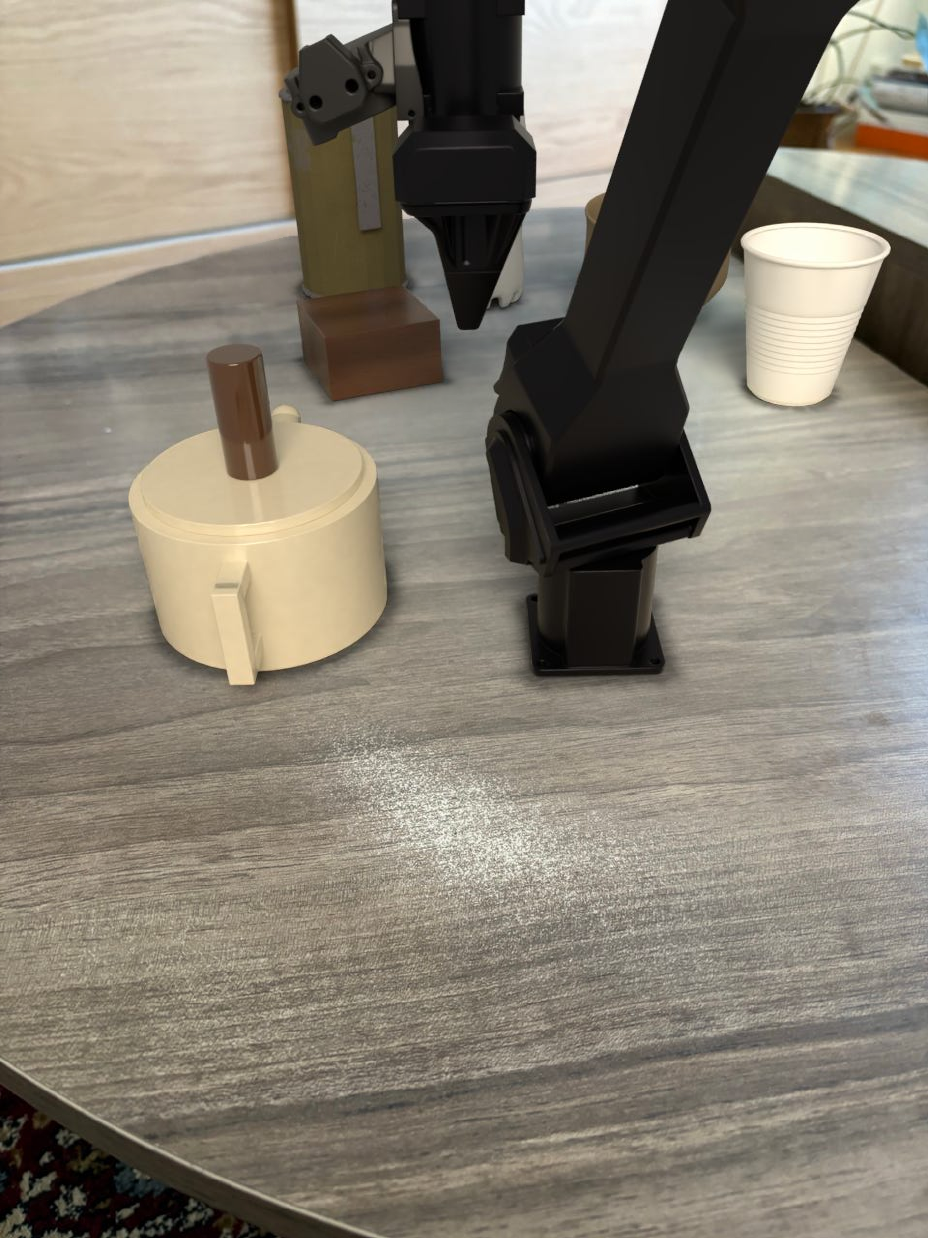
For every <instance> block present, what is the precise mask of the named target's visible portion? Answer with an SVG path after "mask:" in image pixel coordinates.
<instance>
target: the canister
mask: <svg viewBox="0 0 928 1238" xmlns="http://www.w3.org/2000/svg"><path fill="white" fill-rule="evenodd" d="M278 98H279V99H280V100H281V101H280V102H281V108H282V117H283V126H284V134H285V140H286V149H287V159H288V167H289V174H290V180H291V181H290V182H291V191H292V199H293V207H294V215H295V224H296V229H297V238H298V244H299V248H298V249H299V255H300V263H301V270H302V271H301V272H302V279H303V281H302V284H301V290H302V292H303V293H304V295H305V296H307V297H308V298H309V299H310V298H317V297H324V296H331V295H338V294H344V293H351V292H358V291H365V290H372V289H378V288H385V287H392V286H399V285H403V286H404V287H405V288H408V286H409V278H408V276H407V275H406V274H407V272H406V256H405V241H404V240H405V237H404V220H403V219H404V218H403V209H402V208H401V206H400V204H399V202H398V201H395V193H394V177H393V160H392V155H393V151H394V147H395V143H396V140H397V138H398V137H399V125H398V121H397V107H396V105H395V106H394V107H392V108H390V109H389V110H387V111H385V112H382V113H380V114H378V115H376V116H373V117H371V118H369V119H367V120H364V121H362V122H360V123H358V124H355V125H353V126H351V127H349V128H346V129H344V130H342V131H340V132H339V133H338V135H337V137H336V138H335V139H333V140H330V141H328V142H326V143H323V144H320V145H317V146H313V145H312V143H311V141H310V139H309V137H308V134H307V132H306V130H305V128H304V125H303V123H302V121H301V118H298V117H296V116H295V115H294V114H293V113H292V111H291V107H290V106H291V101H292V98H291V96H290V94H289V91H288V89H287V87H286V86H283V87H282V88H280V89H279V91H278Z"/></svg>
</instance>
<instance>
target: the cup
mask: <svg viewBox="0 0 928 1238" xmlns="http://www.w3.org/2000/svg"><path fill="white" fill-rule="evenodd" d="M740 246H741V248H742V249H743V263H744V264H743V265H744V268H743V271H744V296H745V299H744V301H745V302H744V303H745V305H744V306H745V307H744V309H745V341H746V342H745V346H746V351H745V352H746V386H747V388H748V389H749V390H750V391H751V393H752V394H753V395H754V396H755V397H756V398H758V399H761V401H764V402H767V403H770V404H774V405H778V406H784V407H805V406H806V407H807V406H812V405H816V404H817V403H820V402H821V401H824V400H825V399H826V398H828V397H829V396H831V394H832V392H833V390H834V387H835V384H836V381H837V379H838V377H839V374H840V371H841V368H842V365H843V363H844V360H845V357H846V356H847V353H848V351H849V347H850V345H851V342H852V339H853V338H854V335H855V332H856V330H857V326H858V325H859V321H860V319H861V318H862V313H863V312H864V310H865V306H866V305H867V303H868V300H869V297H870V295H871V293H872V290H873V288H874V285H875V282H876V280H877V277H878V274H879V272H880V270H881V267H882V264H883V262H884V260H885V258H887V257H888V256H889V255H890V253H891V249H892V248H891V246H890V243H889V241H887V240H886V239H885V238H883V237H882V236H880V235H878V234H876V233H874V232H870V231H867V230H864V229H861V228H856V227H852V226H846V225H842V224H834V223H833V224H832V223H821V222H784V223H773V224H768V225H763V226H760V227H756V228H753V229H751V230H749V231H747V232H745V233H743V235H742V236H741V238H740Z"/></svg>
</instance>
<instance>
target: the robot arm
mask: <svg viewBox="0 0 928 1238" xmlns="http://www.w3.org/2000/svg"><path fill="white" fill-rule="evenodd" d="M860 1H861V0H667V1H666V4H665V7H664V10H663V13H662V17H661V20H660V23H659V26H658V28H657V32H656V34H655V35H656V36H655V38H654V42H653V44H652V47H651V50H650V53H649V57H648V60H647V63H646V67H645V70H644V72H643V75H642V78H641V81H640V84H639V87H638V90H637V94H636V97H635V100H634V102H633V103H634V104H633V105H632V108H631V112H630V116H629V119H628V121H627V125H626V127H625V131H624V134H623V137H622V140H621V143H620V146H619V149H618V152H617V156H616V159H615V161H614V165H613V168H612V170H611V174H610V177H609V180H608V184H607V187H606V190H605V192H606V193H605V192H604V193H605V196H604V199H603V202H602V205H601V208H600V211H599V214H598V217H597V220H596V224H595V227H594V230H593V233H592V236H591V239H590V242H589V245H588V248H587V251H586V254H585V258H584V257H583V260H582V265H581V267H580V270H579V273H578V276H577V279H576V282H575V285H574V288H573V292H572V295H571V298H570V301H569V304H568V308H567V311H566V314H565V316H560V317H555V318H550V319H543V320H538V321H533V322H528V323H522V324H518V325H516V326H515V328H514V330H513V331H512V333H511V334H510V336H509V338H508V339H507V342H506V346H505V354H504V359H503V361H504V362H503V365H502V370H501V372H500V375H499V377H498V379H497V380H496V382H494V383H493V386H492V389H493V392H494V393H495V394H497V399H496V401H495V405H494V408H493V412H492V416H491V417H490V419H489V421H488V423H487V428H486V436H485V438H484V445H485V457H486V462H487V466H488V473H489V478H490V482H491V483H490V485H491V490H492V497H493V504H494V511H495V517H496V521H497V523H498V526H499V527H498V528H499V532H500V533H501V535H502V536H503V537H504V556H505V558H506V559H507V560H508V562H510V563H514V564H519V565H524V566H526V567H528V566H530V567H531V568H532V569H533V570H534V571H535V573H537V593H531V594H528V595H527V596H526V599H525V607H526V619H527V629H528V631H527V632H528V641H529V651H530V663H531V671H532V673H533V674H534V676H538V677H581V676H582V677H585V676H586V677H587V676H590V677H591V676H633V675H635V676H636V675H660V674H662V673H663V672H664V671H665V667H666V659H665V655H664V652H663V648H662V643H661V640H660V637H659V632H658V628H657V624H656V621H655V617H654V613H653V599H654V592H655V591H654V590H655V581H656V571H657V562H658V554H659V546H660V545H664V544H665V545H666V544H669V543H673V542H676V541H680V540H684V539H688V540H689V539H693V538H698V537H700V536H701V535H702V533H703V530H704V528H705V526H706V523H707V522H708V520H709V517H710V516H711V513H712V504H711V500H710V497H709V495H708V492H707V489H706V486H705V484H704V481H703V478H702V475H701V473H700V470H699V466H698V464H697V461H696V458H695V456H694V453H693V450H692V447H691V444H690V442H689V439H688V438H689V437H688V436H687V434H686V433H687V432H686V430H685V425H686V423H687V420H688V416H689V414H690V410H691V407H690V403H689V399H688V396H687V393H686V391H685V390H686V389H685V386H684V384H683V381H682V378H681V375H680V372H679V371H680V370H679V368H678V362H679V358H680V356H681V353H682V352H683V349H684V347H685V345H686V343H687V341H688V338H689V337H690V334H691V332H692V331H693V328H694V326H695V325H696V321H697V320H698V317H699V315H700V313H701V311H702V309H703V307H704V306H705V305H704V303H705V301H706V299H707V297H708V294H709V292H710V290H711V288H712V286H713V284H714V282H715V280H716V278H717V276H718V274H719V271H720V269H721V267H722V265H723V263H724V261H725V259H726V257H727V255H728V253H729V250H730V248H731V246H732V247H733V244H734V242H735V240H736V238H737V236H738V234H739V232H740V229H741V228H742V226H743V223H744V221H745V219H746V217H747V215H748V213H749V210H750V209H751V207H752V204H753V202H754V200H755V198H756V196H757V194H758V192H759V190H760V188H761V187H762V184H763V182H764V179H765V178H766V176H767V173H768V170H769V169H770V167H771V165H772V162H773V160H774V158H775V156H776V154H777V152H778V149H779V148H780V146H781V143H782V141H783V140H784V138H785V135H786V133H787V131H788V129H789V127H790V125H791V123H792V121H793V118H794V116H795V114H796V113H797V110H798V108H799V106H800V104H801V101H802V100H803V97H804V96H805V94H806V92H807V89H808V87H809V86H810V84H811V81H812V79H813V77H814V74H815V72H816V70H817V68H818V66H819V64H820V62H821V60H822V58H823V56H824V54H825V52H826V50H827V48H828V45H829V43H830V41H831V40H832V37H833V35H834V33H835V31H836V30H837V28H838V26H839V25H840V23H841V22H842V20H843V19H844V17H845V16H846V15H847V14H848V13H849V12H850V11H851V9H853V8H854V7H855V6H856V5H857V4H859V2H860ZM390 3H391V5H390V6H391V20H392V21H391V23H388V24H387V25H383V26H382V27H380V28H378V29H375V30H373V31H370V32H368V33H366V34H364V35H361V36H359V37H356V38H355V39H353V40H350V41H348V42H347V43H344V44H343V42H341V41H340V40H339V38H337V37H336V36H335V35H334V34H333V33H330V34H328V35H326V36H325V37H324V38H322V39H320V40H318V41H316V42H314V43H311V44H305V45H304V46H302V48H300V49H299V50H298V66H296V67H294V68H293V69H292V70H291V71H290V72H288V74H287V75H286V76H285V77H284V78H283V83H284V84H285V87H287V89H288V91H289V94H290V96H291V98H292V101H291V106H290V107H291V111H292V113H293V114H294V115H295V116H296V117H298V118H301V121H302V123H303V125H304V128H305V130H306V132H307V134H308V137H309V139H310V141H311V143H312V145H313V146H317V145H320V144H323V143H326V142H328V141H330V140H333V139H335V138H336V137H337V135H338V133H339V132H340V131H342V130H344V129H346V128H349V127H351V126H353V125H355V124H358V123H360V122H362V121H364V120H367V119H369V118H371V117H373V116H376V115H378V114H380V113H382V112H385V111H387V110H389V109H390V108H392V107H394V106H395V105H396V107H397V122H408V125H407V126H406V127H405V129H404V130H403V131H402V133H400V135H398V138H397V140H396V143H395V147H394V151H393V155H392V160H393V177H394V193H395V201H398V202H399V204H400V206H401V208H402V212H404V213H405V214H406V215H408V216H409V217H413V218H415V219H416V220H417V221H418V222H419V223H420V224H422V225H423V226H424V227H425V228H427V229H428V230H429V231H430V232H431V233H432V235H433V236H434V240H435V243H436V244H435V245H436V247H437V250H438V254H439V258H440V263H441V267H442V271H443V275H444V279H445V284H446V287H447V291H448V296H449V299H450V304H451V308H452V311H453V316H454V320H455V324H456V328H457V329H458V330H460V331H477V330H478V329H480V327H481V325H482V322H483V319H484V317H485V314H486V312H487V310H488V309H487V307H488V305H489V302H490V300H491V297H492V295H493V292H494V290H495V287H496V285H497V282H498V280H499V277H500V275H501V272H502V270H503V268H504V265H505V263H506V260H507V258H508V256H509V253H510V251H511V248H512V246H513V244H514V241H515V239H516V237H517V234H518V232H519V230H520V227H521V225H522V226H523V223H524V220H525V218H526V217H527V213H529V212H530V210H531V207H532V203H533V199H535V198H537V157H538V156H537V155H538V153H537V149H536V144H535V141H534V138H533V137H534V136H533V135H532V134H531V133H530V131H528V130H527V128H526V129H525V128H524V127H523V126H522V125H521V124H520V116H524V113H525V91H524V87H523V85H522V83H523V80H522V79H523V16H526V0H391V2H390ZM731 249H732V248H731ZM491 301H492V300H491ZM703 305H704V306H703ZM635 486H637V487H635ZM631 487H633V488H631ZM627 488H628V489H627ZM622 489H625V490H622ZM619 490H621V491H619ZM615 491H616V492H615ZM606 493H607V494H606ZM598 495H599V496H598ZM591 497H592V498H591ZM586 498H588V499H586ZM583 499H584V500H583ZM578 500H580V501H578ZM574 501H575V502H574ZM555 506H556V507H555ZM550 507H551V508H550Z"/></svg>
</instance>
